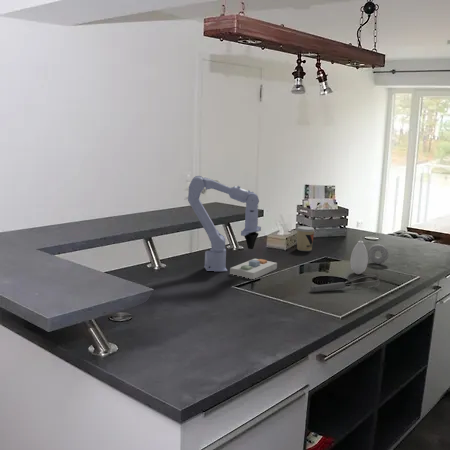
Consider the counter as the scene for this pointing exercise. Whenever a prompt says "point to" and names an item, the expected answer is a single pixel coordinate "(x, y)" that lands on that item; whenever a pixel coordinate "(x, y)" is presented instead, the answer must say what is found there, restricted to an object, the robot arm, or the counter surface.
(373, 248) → the donut
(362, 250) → the sauce bottle
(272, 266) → the button panel
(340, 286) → the kitchen whisk
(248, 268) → the sage green button
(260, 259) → the terracotta button
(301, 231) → the coffee cup
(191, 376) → the counter surface
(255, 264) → the slate blue button
